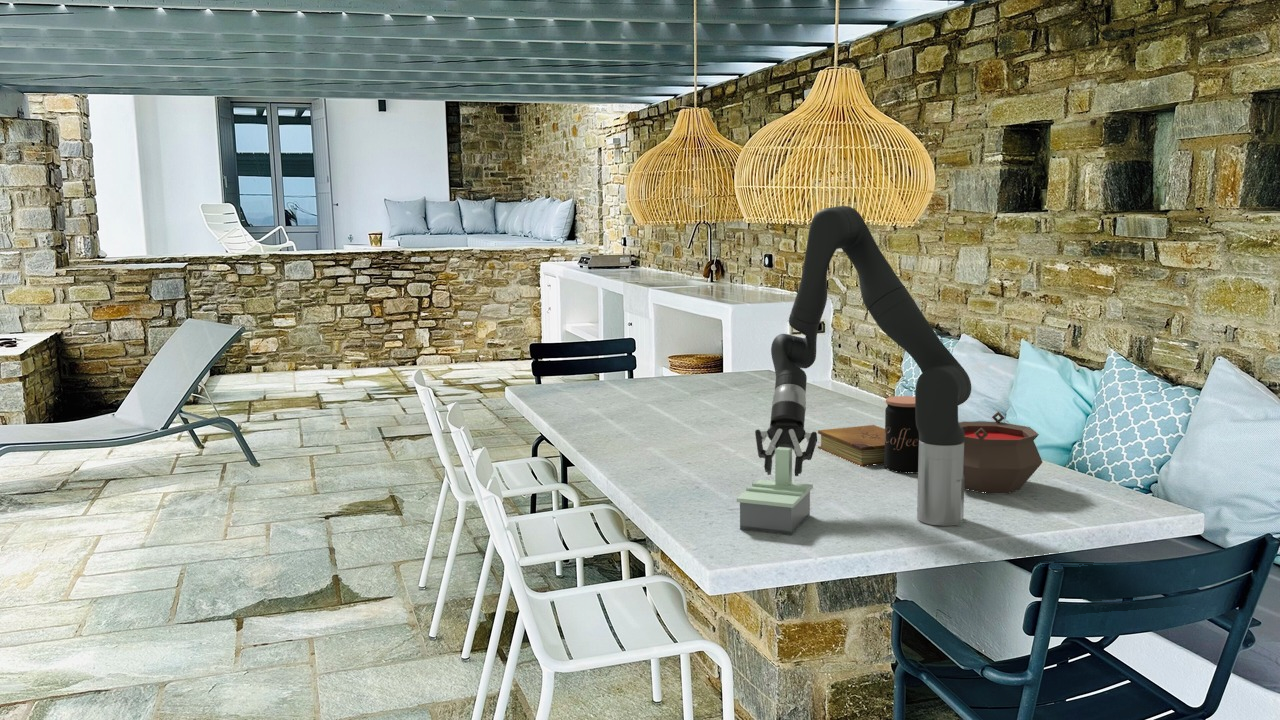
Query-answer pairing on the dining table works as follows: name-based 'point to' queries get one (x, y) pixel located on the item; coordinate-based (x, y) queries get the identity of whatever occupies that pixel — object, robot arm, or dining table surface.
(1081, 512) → the dining table surface
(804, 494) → the lid
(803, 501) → the tub
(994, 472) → the brown faceted pot
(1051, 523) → the dining table surface
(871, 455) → the diary
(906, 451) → the coffee jar
